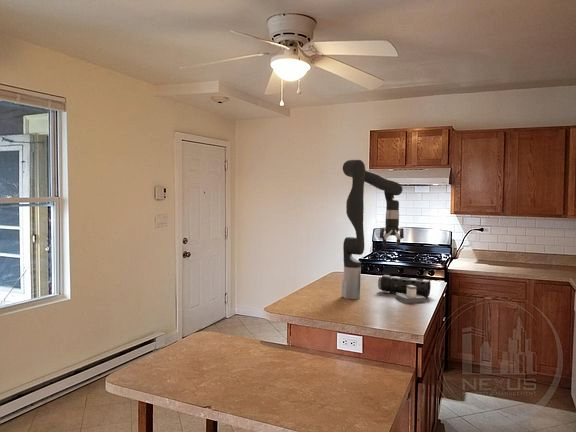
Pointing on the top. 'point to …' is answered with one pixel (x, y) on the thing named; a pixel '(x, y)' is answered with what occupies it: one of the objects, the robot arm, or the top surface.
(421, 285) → the muzzle brake
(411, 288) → the plug
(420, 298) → the outlet block
